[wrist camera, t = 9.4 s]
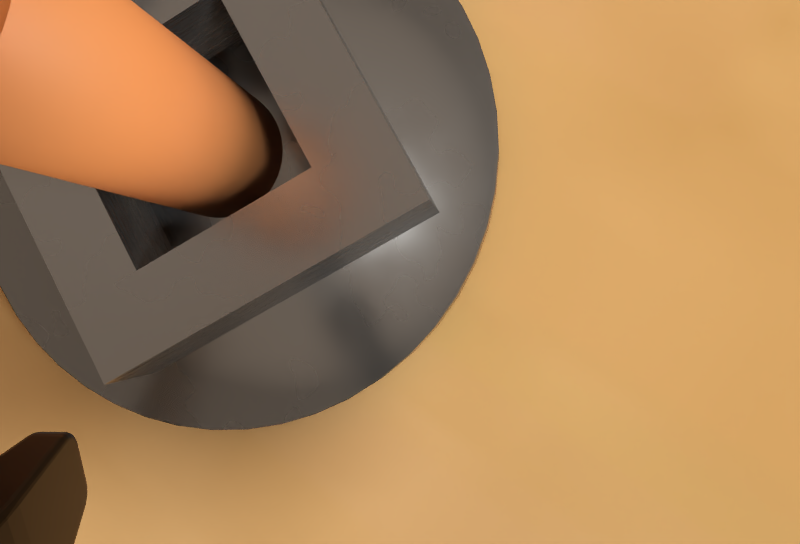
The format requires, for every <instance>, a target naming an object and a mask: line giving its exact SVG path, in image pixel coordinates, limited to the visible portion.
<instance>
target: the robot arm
mask: <svg viewBox="0 0 800 544" xmlns="http://www.w3.org/2000/svg"><path fill="white" fill-rule="evenodd" d="M86 499H87V483H86V478H85V474H84V470H83V465H82V461H81V457H80V453H79V448H78V444H77V441H76V439H75V437H74V436H73V435H72V434H70V433H67V432H37V433H33V434H31V435H29V436H27V437H26V438H24V439H23V440H22V441H20V442H19V443H17V444H16V445H14V446H13V447H11V448H10V449H9V450H7V451H6V452H4V453H3V454H1V455H0V544H74V543H75V539H76V536H77V532H78V529H79V526H80V522H81V519H82V515H83V512H84V509H85V505H86Z"/></svg>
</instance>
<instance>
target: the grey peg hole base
mask: <svg viewBox="0 0 800 544" xmlns="http://www.w3.org/2000/svg"><path fill="white" fill-rule="evenodd" d="M131 1H133V2H134V3H135V4H137V5H138V6H139V7H140V8H142V9H143V10H144V11H145V12H147V13H148V14H149V15H151V16H152V17H153V18H154V19H156V20H157V21H158V22H159V23H161V24H162V25H163V26H165V27H166V28H167V29H168V30H170V31H171V32H172V33H173V34H175V35H176V36H177V37H179V38H180V39H181V40H182V41H184V42H185V43H186V44H187V45H189V46H190V47H191V48H193V49H194V50H195V51H196V52H198V53H199V54H200V55H201V56H203V57H204V58H205V59H207V60H208V61H209V62H210V63H212V64H213V65H214V66H215V67H217V68H218V69H219V70H221V71H222V72H223V73H224V74H226V75H227V76H228V77H229V78H231V79H232V80H233V81H235V82H236V83H237V84H238V85H240V86H241V87H242V88H243V89H245V90H246V91H247V92H249V93H250V94H251V95H252V96H254V97H255V98H256V99H257V100H259V101H260V102H261V103H262V104H263V105H264V106H265V107H266V108H267V109H268V110H269V111H270V113H271V114H272V116H273V117H274V119H275V121H276V123H277V125H278V127H279V130H280V133H281V138H282V146H283V156H282V163H281V168H280V171H279V174H278V177H277V179H276V181H275V183H274V185H273V187H272V188H271V190H270V191H269V193H267V194H266V195H264V196H262V197H260V198H259V199H257V200H255V201H254V202H252V203H250V204H249V205H247V206H245V207H244V208H242V209H240V210H238V211H237V212H235V213H233V214H232V215H230V216H228V217H224V218H213V217H207V216H202V215H198V214H194V213H190V212H186V211H183V210H179V209H175V208H171V207H167V206H163V205H159V204H155V203H151V202H147V201H143V200H139V199H135V198H131V197H127V196H124V195H120V194H116V193H112V192H108V191H104V190H100V189H96V188H92V187H88V186H84V185H80V184H76V183H72V182H68V181H65V180H61V179H57V178H53V177H49V176H45V175H41V174H37V173H33V172H29V171H25V170H21V169H17V168H13V167H9V166H6V165H2V164H0V286H1V288H2V290H3V292H4V294H5V295H6V297H7V299H8V301H9V303H10V304H11V306H12V308H13V310H14V312H15V313H16V315H17V316H18V318H19V319H20V320H21V322H22V323H23V325H24V326H25V327H26V329H27V330H28V331H29V333H30V334H31V335H32V337H33V338H34V340H35V341H36V342H37V343H38V344H39V345H40V346H41V347H42V348H43V349H44V350H45V351H46V352H47V354H48V355H49V356H50V357H51V358H52V359H53V360H54V361H55V362H56V363H57V364H58V365H59V366H60V367H62V368H63V369H64V370H65V371H67V372H68V373H69V374H70V375H72V376H73V377H74V378H75V379H77V380H78V381H79V382H80V383H82V384H83V385H84V386H85V387H87V388H89V389H90V390H92V391H94V392H95V393H97V394H99V395H100V396H102V397H104V398H105V399H107V400H109V401H111V402H112V403H114V404H116V405H119V406H121V407H123V408H126V409H128V410H130V411H133V412H135V413H137V414H140V415H142V416H144V417H148V418H152V419H155V420H159V421H163V422H166V423H170V424H174V425H178V426H186V427H193V428H201V429H209V430H234V429H252V428H258V427H265V426H271V425H278V424H283V423H286V422H290V421H293V420H296V419H300V418H303V417H306V416H310V415H313V414H316V413H318V412H321V411H323V410H325V409H327V408H329V407H332V406H334V405H336V404H338V403H340V402H343V401H345V400H347V399H349V398H351V397H352V396H354V395H355V394H357V393H359V392H360V391H362V390H363V389H365V388H367V387H368V386H370V385H371V384H373V383H375V382H376V381H378V380H379V379H381V378H382V377H384V376H385V375H386V374H388V373H389V372H390V371H391V370H393V369H394V368H395V367H396V366H397V365H398V364H400V363H401V362H402V361H403V360H404V359H406V358H407V357H408V356H409V355H410V354H412V353H413V352H414V351H415V350H416V349H417V348H418V347H419V346H420V344H421V343H422V342H423V341H424V340H425V339H426V338H427V337H428V336H429V335H430V334H431V333H432V331H433V330H434V329H435V328H436V327H437V326H438V325H439V323H440V322H441V321H442V319H443V318H444V316H445V315H446V313H447V312H448V310H449V309H450V308H451V306H452V305H453V303H454V302H455V300H456V299H457V298H458V296H459V294H460V293H461V291H462V289H463V287H464V285H465V283H466V281H467V279H468V277H469V275H470V273H471V271H472V269H473V268H474V266H475V264H476V261H477V258H478V255H479V253H480V250H481V247H482V244H483V242H484V239H485V236H486V233H487V231H488V227H489V222H490V218H491V213H492V209H493V204H494V200H495V195H496V185H497V173H498V162H499V147H498V126H497V110H496V105H495V99H494V94H493V88H492V83H491V77H490V73H489V70H488V67H487V64H486V61H485V58H484V55H483V52H482V49H481V46H480V43H479V40H478V37H477V35H476V33H475V31H474V29H473V27H472V25H471V23H470V21H469V19H468V17H467V15H466V13H465V11H464V9H463V7H462V5H461V4H460V2H459V1H458V0H131Z"/></svg>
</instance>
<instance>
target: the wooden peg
mask: <svg viewBox="0 0 800 544" xmlns="http://www.w3.org/2000/svg"><path fill="white" fill-rule="evenodd" d="M282 156H283V146H282V138H281V133H280V130H279V127H278V125H277V123H276V121H275V119H274V117H273V116H272V114H271V113H270V111H269V110H268V109H267V108H266V107H265V106H264V105H263V104H262V103H261V102H260V101H259V100H257V99H256V98H255V97H254V96H252V95H251V94H250V93H249V92H247V91H246V90H245V89H243V88H242V87H241V86H240V85H238V84H237V83H236V82H235V81H233V80H232V79H231V78H229V77H228V76H227V75H226V74H224V73H223V72H222V71H221V70H219V69H218V68H217V67H215V66H214V65H213V64H212V63H210V62H209V61H208V60H207V59H205V58H204V57H203V56H201V55H200V54H199V53H198V52H196V51H195V50H194V49H193V48H191V47H190V46H189V45H187V44H186V43H185V42H184V41H182V40H181V39H180V38H179V37H177V36H176V35H175V34H173V33H172V32H171V31H170V30H168V29H167V28H166V27H165V26H163V25H162V24H161V23H159V22H158V21H157V20H156V19H154V18H153V17H152V16H151V15H149V14H148V13H147V12H145V11H144V10H143V9H142V8H140V7H139V6H138V5H137V4H135V3H134V2H133V1H131V0H0V164H2V165H6V166H9V167H13V168H17V169H21V170H25V171H29V172H33V173H37V174H41V175H45V176H49V177H53V178H57V179H61V180H65V181H68V182H72V183H76V184H80V185H84V186H88V187H92V188H96V189H100V190H104V191H108V192H112V193H116V194H120V195H124V196H127V197H131V198H135V199H139V200H143V201H147V202H151V203H155V204H159V205H163V206H167V207H171V208H175V209H179V210H183V211H186V212H190V213H194V214H198V215H202V216H207V217H213V218H224V217H228V216H230V215H232V214H233V213H235V212H237V211H238V210H240V209H242V208H244V207H245V206H247V205H249V204H250V203H252V202H254V201H255V200H257V199H259V198H260V197H262V196H264V195H266V194H267V193H269V191H270V190H271V188H272V187H273V185H274V183H275V181H276V179H277V177H278V174H279V171H280V168H281V163H282Z"/></svg>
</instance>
